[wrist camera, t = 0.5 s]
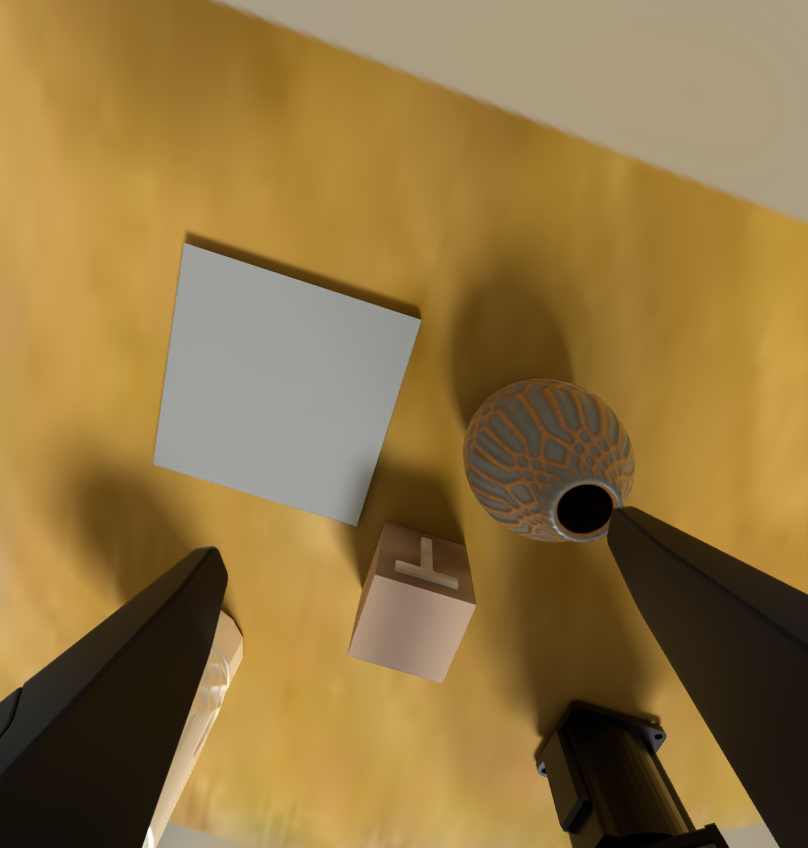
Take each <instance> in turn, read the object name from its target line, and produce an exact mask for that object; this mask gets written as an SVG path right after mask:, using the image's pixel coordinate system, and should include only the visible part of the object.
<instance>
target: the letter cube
mask: <svg viewBox="0 0 808 848" xmlns="http://www.w3.org/2000/svg"><path fill="white" fill-rule="evenodd" d="M475 608H476V599H475V594H474V588H473V583H472V577H471V572H470V566H469V560H468V555H467V549H466V546H464V545H461V544H458V543H454V542H451V541H448V540H445V539H441V538H438V537H435V536H432V535H428V534H425V533H422V532H419V531H415V530H412V529H409V528H406V527H402V526H399V525H396V524H393V523H389V522H386V521H385V523H384V526H383V529H382V532H381V535H380V538H379V541H378V544H377V547H376V550H375V553H374V556H373V559H372V562H371V565H370V568H369V571H368V574H367V577H366V580H365V583H364V586H363V589H362V593H361V597H360V601H359V606H358V610H357V615H356V619H355V623H354V628H353V632H352V636H351V641H350V645H349V650H348V654H347V656H350V657H353V658H357V659H360V660H363V661H367V662H370V663H374V664H377V665H380V666H384V667H387V668H391V669H394V670H397V671H401V672H404V673H408V674H411V675H414V676H418V677H421V678H425V679H428V680H431V681H435V682H438V683H443V680H444V678H445V676H446V673H447V671H448V669H449V667H450V664H451V662H452V660H453V658H454V655H455V653H456V651H457V648H458V646H459V644H460V642H461V639H462V637H463V635H464V633H465V630H466V628H467V626H468V623H469V621H470V619H471V617H472V614H473V612H474V610H475Z"/></svg>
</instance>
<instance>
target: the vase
mask: <svg viewBox="0 0 808 848" xmlns="http://www.w3.org/2000/svg"><path fill="white" fill-rule="evenodd" d="M463 459H464V466H465V472H466V476H467V479H468V482H469V484H470V487H471V489H472V491H473V493H474V495H475V497H476V498H477V500H478V501H479V503H480V504H481V505H482V507H483V508H484V509H485V510H486V511H487V512H488V513H489V514H490V515H491V516H492V517H493V518H494V519H495V520H496V521H498V522H499V523H500V524H502V525H503V526H504V527H506V528H508V529H509V530H511V531H513V532H515V533H517V534H519V535H521V536H524V537H526V538H529V539H533V540H538V541H544V542H566V541H573V542H591V541H595V540H598V539H600V538H602V537H604V536H606V535H607V533H608V528H609V522H610V517H611V513H612V511H613V509H614V508H617V507H623V506H624V504H625V502H626V501H627V499H628V496H629V494H630V491H631V488H632V485H633V480H634V473H635V462H634V454H633V449H632V445H631V442H630V440H629V437H628V435H627V432H626V430H625V428H624V427H623V425H622V423H621V422H620V420H619V419H618V417H617V416H616V414H615V413H614V412H613V411H612V410H611V409H610V408H609V407H608V406H607V405H606V404H605V403H604V402H603V401H602V400H601V399H600V398H598V397H597V396H595V395H594V394H592V393H591V392H589V391H587V390H585V389H583V388H581V387H579V386H576V385H574V384H571V383H569V382H565V381H561V380H556V379H549V378H534V379H527V380H522V381H518V382H515V383H512V384H509V385H507V386H505V387H503V388H501V389H499V390H498V391H496V392H495V393H493V394H492V395H491V396H489V397H488V398H487V399H486V400H485V401H484V402H483V403H482V404H481V405H480V407H479V408H478V409H477V411H476V412H475V414H474V415H473V417H472V419H471V421H470V423H469V425H468V428H467V431H466V434H465V438H464V446H463Z"/></svg>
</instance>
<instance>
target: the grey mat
mask: <svg viewBox="0 0 808 848" xmlns="http://www.w3.org/2000/svg"><path fill="white" fill-rule="evenodd" d="M420 324H421V320H420V319H417V318H414V317H411V316H408V315H405V314H402V313H399V312H396V311H393V310H390V309H386V308H383V307H380V306H377V305H374V304H371V303H368V302H365V301H362V300H359V299H356V298H353V297H350V296H347V295H343V294H340V293H337V292H334V291H331V290H328V289H325V288H322V287H319V286H316V285H313V284H310V283H307V282H303V281H300V280H297V279H294V278H291V277H288V276H285V275H282V274H279V273H276V272H273V271H270V270H267V269H263V268H260V267H257V266H254V265H251V264H248V263H245V262H242V261H239V260H236V259H233V258H230V257H227V256H223V255H220V254H217V253H214V252H211V251H208V250H205V249H202V248H199V247H196V246H193V245H190V244H186V243H184V247H183V254H182V261H181V268H180V275H179V282H178V289H177V296H176V304H175V311H174V318H173V325H172V332H171V339H170V346H169V353H168V360H167V367H166V375H165V382H164V389H163V396H162V403H161V410H160V417H159V424H158V431H157V439H156V446H155V453H154V460H153V465H157V466H160V467H163V468H166V469H170V470H173V471H176V472H179V473H183V474H186V475H189V476H192V477H196V478H199V479H202V480H206V481H209V482H212V483H215V484H219V485H222V486H225V487H228V488H232V489H235V490H238V491H242V492H245V493H248V494H251V495H255V496H258V497H261V498H264V499H268V500H271V501H274V502H278V503H281V504H284V505H287V506H291V507H294V508H297V509H300V510H304V511H307V512H310V513H313V514H317V515H320V516H323V517H327V518H330V519H333V520H336V521H340V522H343V523H346V524H349V525H353V526H356V527H357V524H358V521H359V518H360V514H361V511H362V508H363V505H364V502H365V499H366V495H367V492H368V489H369V486H370V483H371V479H372V476H373V473H374V470H375V467H376V464H377V460H378V457H379V454H380V451H381V448H382V444H383V441H384V438H385V435H386V432H387V429H388V425H389V422H390V419H391V416H392V413H393V409H394V406H395V403H396V400H397V397H398V394H399V390H400V387H401V384H402V381H403V378H404V374H405V371H406V368H407V365H408V362H409V359H410V355H411V352H412V349H413V346H414V343H415V339H416V336H417V333H418V330H419V327H420Z"/></svg>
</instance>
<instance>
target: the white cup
mask: <svg viewBox="0 0 808 848" xmlns="http://www.w3.org/2000/svg"><path fill="white" fill-rule="evenodd" d="M242 657H243V637H242V635H241V633H240V632H239V630H238V628H237V626H236V624H235V622H234V621H233V619H232V618H230V617H229V616H228V615H227V614H226V613H224V612H223V611H222V610H221V612H220V616H219V620H218V624H217V629H216V633H215V637H214V641H213V645H212V648H211V652H210V655H209V658H208V661H207V664H206V667H205V670H204V673H203V675H202V678H201V681H200V684H199V687H198V690H197V693H196V695H195V698H194V701H193V704H192V707H191V710H190V712H189V715H188V718H187V721H186V724H185V727H184V730H183V732H182V735H181V738H180V741H179V744H178V747H177V750H176V752H175V755H174V758H173V761H172V764H171V767H170V770H169V772H168V775H167V778H166V781H165V784H164V787H163V790H162V792H161V795H160V798H159V801H158V804H157V807H156V810H155V812H154V815H153V818H152V821H151V824H150V827H149V829H148V832H147V835H146V838H145V841H144V844H143V847H142V848H156V846H157V844H158V842H159V840H160V838H161V836H162V833H163V831H164V829H165V827H166V825H167V823H168V821H169V819H170V816H171V814H172V812H173V810H174V808H175V806H176V804H177V802H178V800H179V797H180V795H181V793H182V791H183V789H184V787H185V785H186V783H187V781H188V778H189V776H190V774H191V772H192V770H193V768H194V766H195V764H196V762H197V759H198V757H199V755H200V753H201V751H202V749H203V746H204V744H205V742H206V739H207V737H208V734H209V732H210V730H211V728H212V726H213V723H214V721H215V719H216V717H217V715H218V713H219V710H220V708H221V706H222V702H223V699H224V696H225V693H226V691H227V689H228V687H229V684H230V682H231V680H232V678H233V676H234V674H235V672H236V670H237V668H238V666H239V664H240V662H241V660H242Z"/></svg>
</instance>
